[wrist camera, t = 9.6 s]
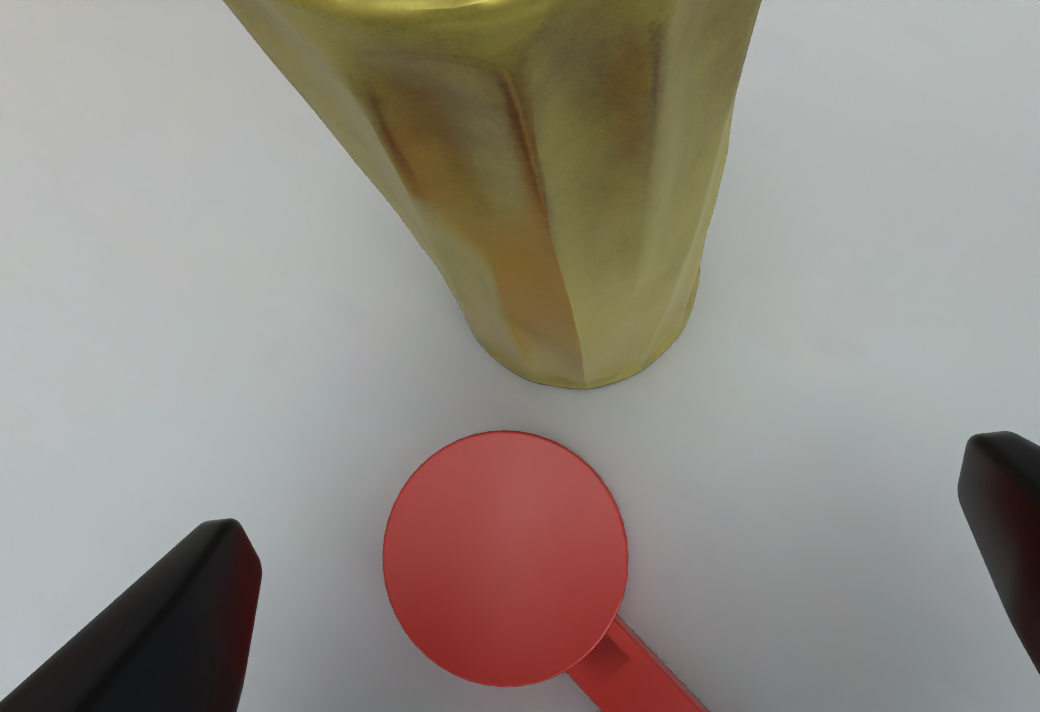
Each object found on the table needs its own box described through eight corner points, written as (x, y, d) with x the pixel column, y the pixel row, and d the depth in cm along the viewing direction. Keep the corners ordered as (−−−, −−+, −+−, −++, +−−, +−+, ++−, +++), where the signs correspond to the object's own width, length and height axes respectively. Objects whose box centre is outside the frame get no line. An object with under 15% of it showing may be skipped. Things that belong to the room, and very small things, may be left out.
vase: (487, 416, 19) (101, 198, 5) (437, 195, 20) (15, -495, 6) (726, 356, 18) (1091, -89, 4) (660, 133, 19) (770, -785, 5)
